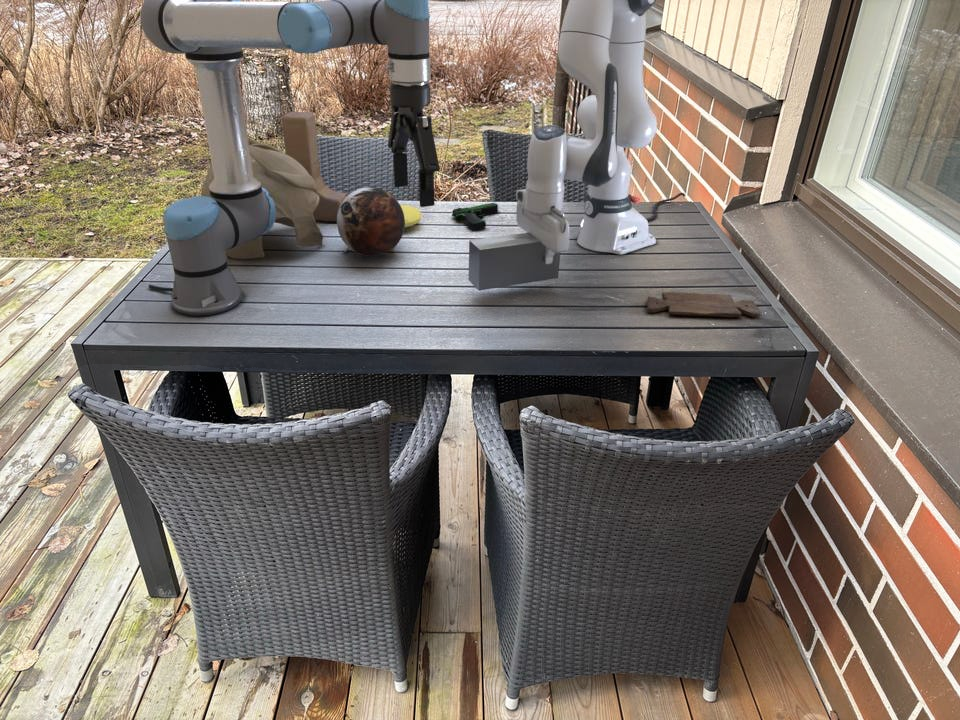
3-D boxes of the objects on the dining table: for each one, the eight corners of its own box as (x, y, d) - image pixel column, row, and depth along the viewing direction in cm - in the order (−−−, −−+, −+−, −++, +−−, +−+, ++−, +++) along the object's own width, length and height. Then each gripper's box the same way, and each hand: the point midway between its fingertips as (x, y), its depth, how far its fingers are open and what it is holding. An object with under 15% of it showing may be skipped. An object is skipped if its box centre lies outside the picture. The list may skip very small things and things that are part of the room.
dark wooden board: (642, 297, 172) (648, 316, 163) (643, 291, 171) (649, 310, 162) (751, 300, 171) (762, 319, 162) (752, 293, 170) (764, 313, 161)
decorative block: (341, 222, 212) (332, 118, 197) (293, 219, 214) (280, 116, 199) (348, 214, 219) (340, 113, 204) (301, 211, 221) (289, 110, 205)
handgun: (467, 223, 206) (446, 206, 217) (467, 232, 208) (445, 215, 219) (516, 216, 213) (492, 199, 224) (515, 225, 214) (492, 209, 226)
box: (546, 268, 177) (549, 229, 172) (558, 278, 172) (561, 238, 167) (468, 280, 170) (469, 240, 165) (478, 290, 165) (479, 249, 160)
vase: (376, 214, 219) (375, 191, 216) (426, 217, 218) (426, 194, 214) (362, 232, 206) (360, 208, 202) (415, 235, 204) (415, 212, 201)
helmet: (337, 253, 194) (330, 140, 179) (228, 274, 179) (210, 153, 164) (298, 224, 213) (288, 120, 198) (196, 241, 198) (178, 130, 183)
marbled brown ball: (330, 217, 201) (372, 164, 193) (380, 258, 206) (423, 208, 197) (307, 245, 182) (352, 187, 173) (363, 289, 186) (409, 234, 178)
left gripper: (367, 72, 139) (374, 180, 150) (416, 96, 120) (420, 217, 131) (404, 70, 142) (408, 176, 153) (457, 92, 123) (457, 212, 133)
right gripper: (578, 213, 157) (573, 271, 164) (536, 186, 173) (532, 240, 180) (553, 216, 155) (548, 275, 162) (512, 189, 171) (510, 243, 178)
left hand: (413, 195), depth 142 cm, fingers open, 13 cm apart
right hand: (540, 256), depth 171 cm, fingers closed on box, 6 cm apart
